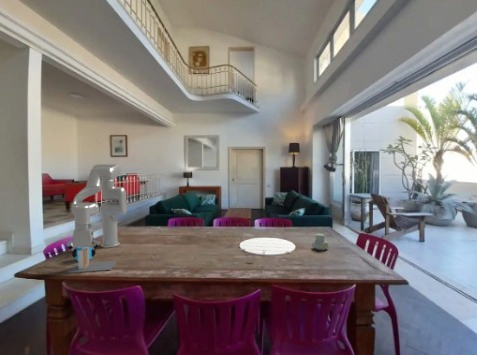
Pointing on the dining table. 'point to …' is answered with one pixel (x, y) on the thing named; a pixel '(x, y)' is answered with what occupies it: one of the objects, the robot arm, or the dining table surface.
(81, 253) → the white rectangular block
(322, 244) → the air freshener
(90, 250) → the mug
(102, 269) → the mat
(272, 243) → the lazy susan
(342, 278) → the dining table surface
